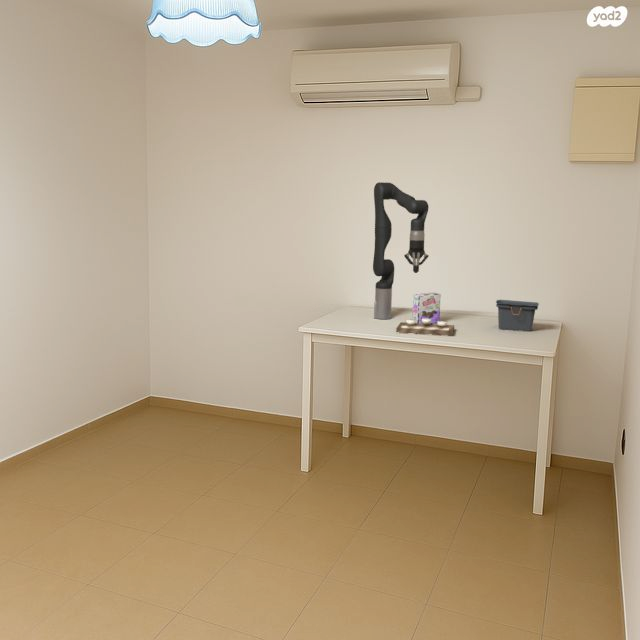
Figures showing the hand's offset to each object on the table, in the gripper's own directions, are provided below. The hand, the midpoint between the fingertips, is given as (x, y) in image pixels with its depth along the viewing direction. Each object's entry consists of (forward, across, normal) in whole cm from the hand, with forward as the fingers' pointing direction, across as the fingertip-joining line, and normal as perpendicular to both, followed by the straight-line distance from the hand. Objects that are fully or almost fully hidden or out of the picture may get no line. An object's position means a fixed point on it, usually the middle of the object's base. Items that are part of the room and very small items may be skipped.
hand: (415, 272), depth 350 cm
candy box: (+29, -5, -14) cm, 33 cm away
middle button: (+25, -7, +6) cm, 27 cm away
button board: (+29, -7, +9) cm, 31 cm away
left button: (+26, +1, +6) cm, 27 cm away
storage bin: (+29, -52, -10) cm, 61 cm away
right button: (+26, -15, +6) cm, 31 cm away
